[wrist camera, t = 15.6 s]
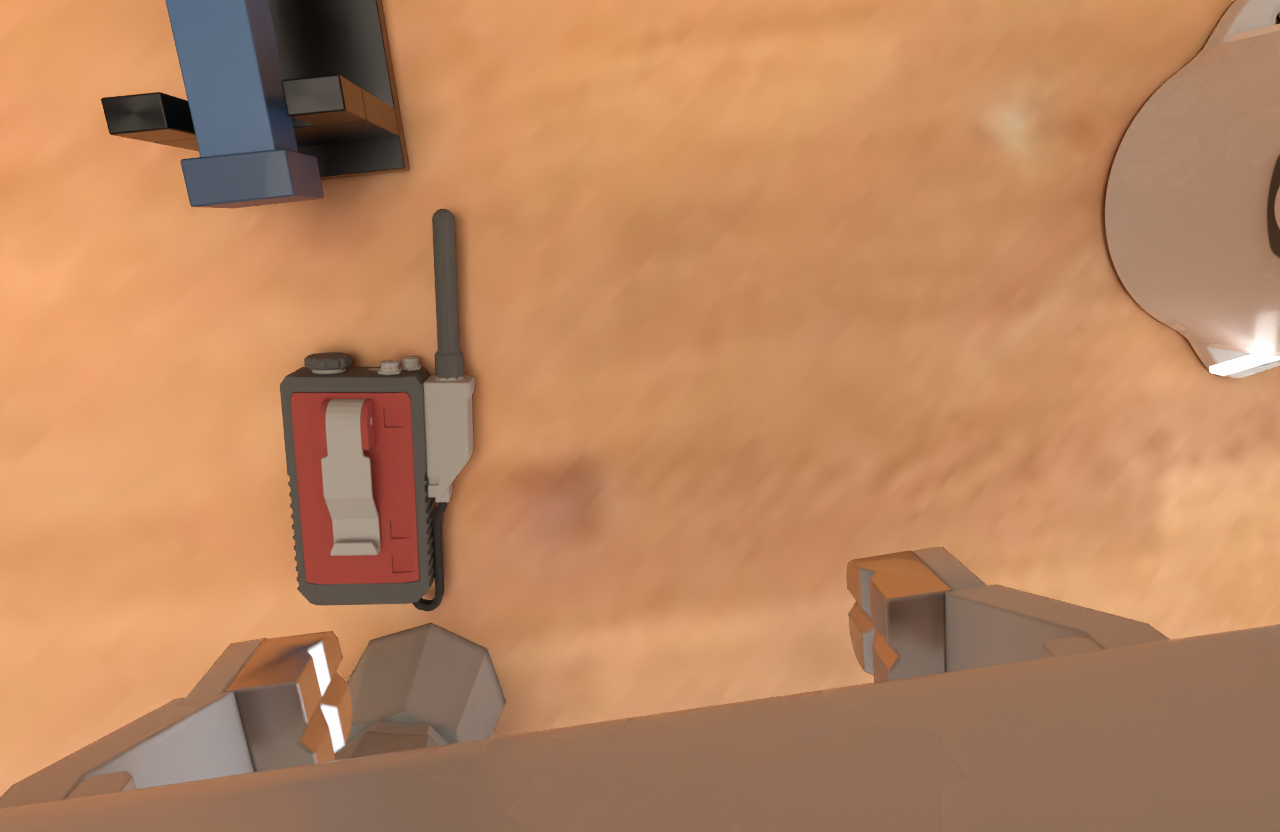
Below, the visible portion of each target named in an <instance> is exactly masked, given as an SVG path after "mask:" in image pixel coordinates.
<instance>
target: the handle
mask: <svg viewBox="0 0 1280 832" xmlns="http://www.w3.org/2000/svg"><path fill="white" fill-rule="evenodd" d="M166 5H167V9H168V14H169V18H170V22H171V27H172V31H173V36H174V40H175V45H176V49H177V54H178V58H179V63H180V67H181V72H182V76H183V80H184V85H185V89H186V94H187V98H188V103H189V107H190V112H191V116H192V121H193V125H194V130H195V134H196V138H197V143H198V147H199V152H200V156H201V157H199V158H190V159H182V160H181V166H182V170H183V174H184V179H185V183H186V187H187V192H188V196H189V200H190V205H191V206H192V207H211V208H240V207H249V206H259V205H268V204H277V203H287V202H296V201H306V200H315V199H323V198H324V194H323V189H322V184H321V179H320V173H319V168H318V163H317V158H316V157H315V156H311V155H307V154H303V153H299V152H298V149H297V144H296V138H295V133H294V128H293V123H292V118H291V117H290V116H288V114H287V109H286V104H285V99H284V94H283V89H282V84H281V81H282V80H284V77H283V72H282V67H281V62H280V57H279V52H278V47H277V42H276V37H275V32H274V27H273V21H272V16H271V11H270V6H269V1H268V0H166Z"/></svg>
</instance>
